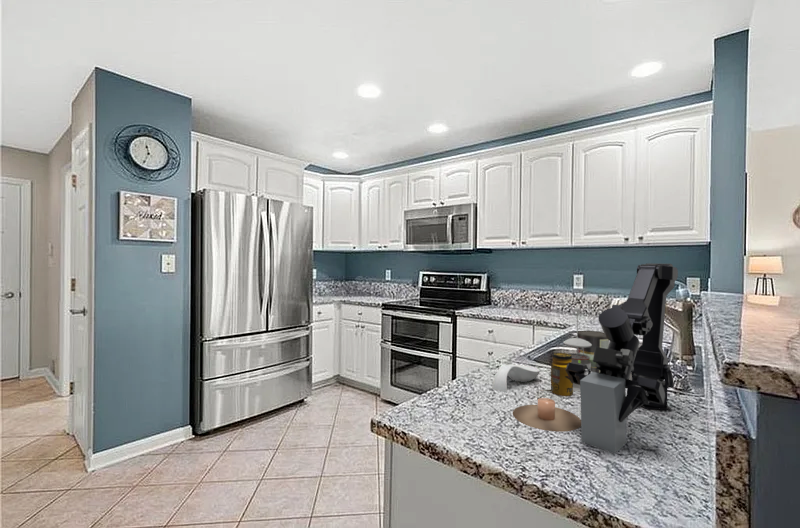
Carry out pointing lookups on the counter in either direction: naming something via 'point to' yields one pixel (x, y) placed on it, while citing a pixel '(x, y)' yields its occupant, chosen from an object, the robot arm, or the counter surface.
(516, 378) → the white curved piece
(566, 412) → the plate
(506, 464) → the counter surface
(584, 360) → the french press
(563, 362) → the condiment
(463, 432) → the counter surface
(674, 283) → the robot arm
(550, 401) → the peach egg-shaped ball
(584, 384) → the grey tall block
